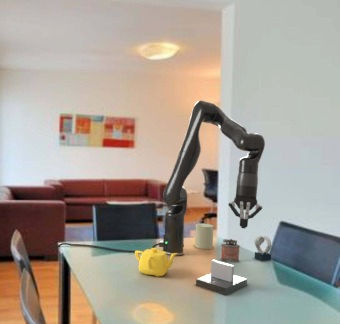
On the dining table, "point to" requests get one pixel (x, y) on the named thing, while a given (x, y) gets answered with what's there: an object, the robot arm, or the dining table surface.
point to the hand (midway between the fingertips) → (243, 227)
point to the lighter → (230, 251)
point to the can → (204, 236)
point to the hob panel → (221, 284)
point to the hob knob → (222, 270)
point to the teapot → (154, 261)
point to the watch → (261, 254)
